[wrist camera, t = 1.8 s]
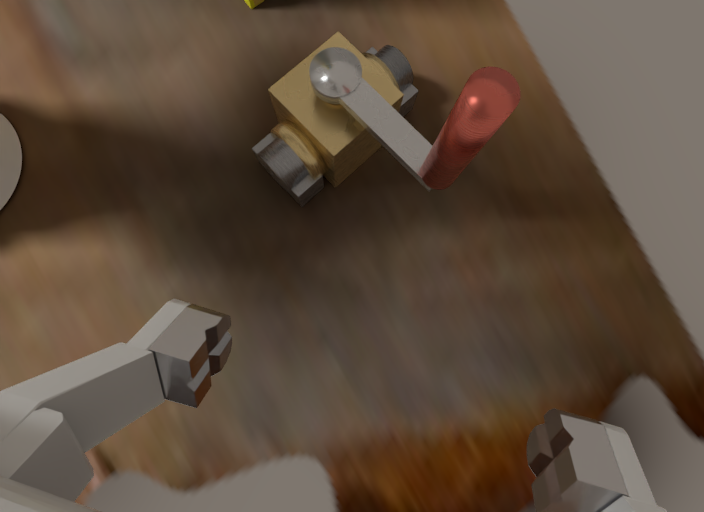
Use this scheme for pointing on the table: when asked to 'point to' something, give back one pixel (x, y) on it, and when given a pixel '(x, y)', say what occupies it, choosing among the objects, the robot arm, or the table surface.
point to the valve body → (328, 122)
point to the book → (253, 3)
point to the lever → (400, 136)
